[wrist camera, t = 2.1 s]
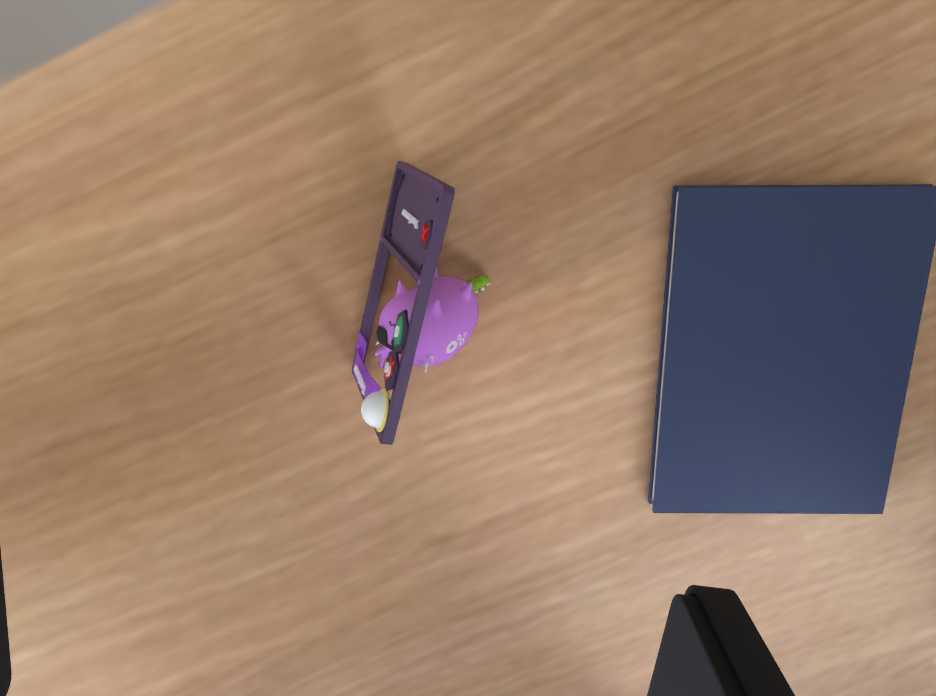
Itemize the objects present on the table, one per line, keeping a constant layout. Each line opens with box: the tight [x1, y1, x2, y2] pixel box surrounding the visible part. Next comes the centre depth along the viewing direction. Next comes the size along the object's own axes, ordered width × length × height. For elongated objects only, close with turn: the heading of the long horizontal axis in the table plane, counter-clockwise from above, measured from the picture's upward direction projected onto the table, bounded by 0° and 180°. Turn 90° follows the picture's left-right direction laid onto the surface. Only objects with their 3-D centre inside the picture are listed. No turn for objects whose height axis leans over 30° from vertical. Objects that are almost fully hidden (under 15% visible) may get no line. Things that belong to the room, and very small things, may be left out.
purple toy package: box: [352, 161, 490, 445], centre depth 26 cm, size 7×5×9 cm
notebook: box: [648, 184, 936, 514], centre depth 28 cm, size 10×14×1 cm
